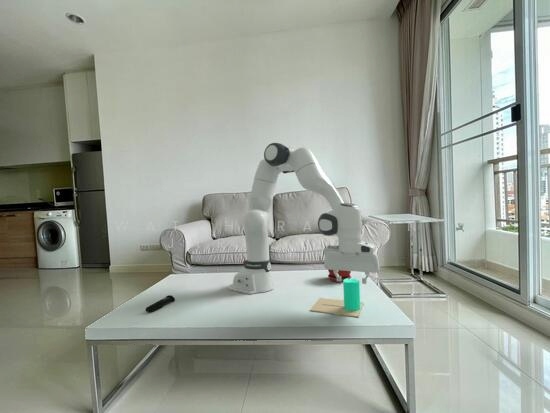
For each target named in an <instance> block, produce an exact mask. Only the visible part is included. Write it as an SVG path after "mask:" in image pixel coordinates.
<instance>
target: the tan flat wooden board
mask: <svg viewBox="0 0 550 413" xmlns="http://www.w3.org/2000/svg"><path fill="white" fill-rule="evenodd" d="M364 304H365V303H364V302H361V301H360V310H357V311H350V310H347V309H345V308H344V299H343V300H342V299H336V298H335V299H334V298H333V299H331V298H326V297H325V298H323V297H319V299H318V300H317V301H316V302H314V304H313V305H312V306H311V308H310V309H309V312H315V313H322V314H329V315H330V314H331V315H337V316H345V317H351V318H352V317H354V318H359V316H361V315H360V314H361V312H362V309H363V307H364Z"/></svg>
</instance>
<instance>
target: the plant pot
mask: <svg viewBox="0 0 550 413" xmlns="http://www.w3.org/2000/svg"><path fill="white" fill-rule="evenodd" d="M327 270H328V273H329V274H328V275H327V277H328V278H329V280H330V281H334V282H338V281H337V277H336V276H335V274H334V270H329V269H327ZM337 273H338V274H339V276H341V282H342V283H343V280H344V279H352V276H351V273H352V271H343V270H338V272H337ZM341 282H340V283H341Z"/></svg>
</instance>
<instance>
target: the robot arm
mask: <svg viewBox="0 0 550 413" xmlns="http://www.w3.org/2000/svg"><path fill="white" fill-rule="evenodd" d="M281 173H283V174H289V173H290V174H291V173H294V174H295V176H296V178H297V181H298V183H299V184H300V185H301V187H302V188H303V189H305V190H306V191H309V192H313V193H316V194H318V195H320V196H322V197H323V198H325V199H326V201H327V202H328V204H329V206H330V207H331V209H332V210H330V211H327V212H324V213H322V214H321V215H320V216H319V218H318V221H317V227H318V230H319V232H320V233H321V235H324V236H328V237H333V236H337V237H338V238H337V240H338V241H337V242H338V243H337V244H338V245H330V244H329V245H326V246H325V247H324V248H323V255H324V262H323V263H324V264H323V266H324V268H325V269H326V270H328V269H329V270H334V274H335V276H336V277H337V281H336V282H340V283H341V276H339V274H338V273H337V272H338V270H343V271H351V272H357V273H358V272H359V273H364V275H365V277H362V278H361V283H362V284H363V285H367V283H368V278H369V276H370V274H371V273H372V274H373V273H375V274H378V272H379V271H380V260H379V255H378V253H377V252H376V245H374V244H373V243H370V242H367V241H365V240H364V241H363V235H362V228H363V222H362V219H363V218H362V212H361V209H360V206H358V205H357V204H355V203H351V202H350V203H348V202H347V203H346V201H345V199H344V198H343V196H342V194H340V192H339V190H338V188H337V186H335V184H334V183H333V182H332V181H331V180H330V179H329V178H328V176H327V175H326V173H325V172H324V170H323V169H322V167H321V165H320V164H319V161H318V159H317V158H316V156H315V154H314V153H313V152H312V151H311V150H310V149H309V148H308V147H304V146H303V147H299V148H297V149H294V148H292V147H290V146H286V145H284V144H283V143H279V142H271V143H269V144H268V145H267V146H266V147H265V149H264V153H263V159H261V160H260V162H259V163H258V166H257V169H256V171H255V173H254V174H255V175H254V178H253V181H252V182H253V183H252V185H251V186H252V187H251V192H250V195H249V196H250V198H249V204H248V209H247V210H248V211H247V212H246V213H245V214H244V216H243V218H242V219H243V220H242V221H243V222H242V223H243V232H244V238H245V247H246V248H245V249H246V259H245V260H244V261H242V265H244V266H243V267H242V269H240V270H239V271H238V272H237V273H235V275H234V277H233V280H232V284H230V285H229V286H228V290H230V291H234V292H239V293H243V294H248V295H254V294H258V293H264V292H265V293H266V292H270V291H271V290H273V289H274V287H275V286H274V283H273V279H272V272H271V269H272V265H271V258H270V246H269V245H270V244H269V243H270V242H269V234H268V232H269V230H268V223H269V219H270V215H271V209H272V205H273V198H274V194H275V191H276V186H277V181H278V177H279V175H280V174H281Z"/></svg>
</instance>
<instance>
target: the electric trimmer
mask: <svg viewBox="0 0 550 413" xmlns="http://www.w3.org/2000/svg"><path fill="white" fill-rule="evenodd" d="M175 299H176V298H175V297H174V296H173V295H172V294H171V295H166V296H165V297H164V298H162V299H159V300H158V301H155V302H154V303H152V304H150V305H149V306H147V307H146V308H145V312H147V313H152V312H154V311H157V310H159V309H162V308H163V307H164V306H166V305H167V304H170V303H171V302H175Z"/></svg>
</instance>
